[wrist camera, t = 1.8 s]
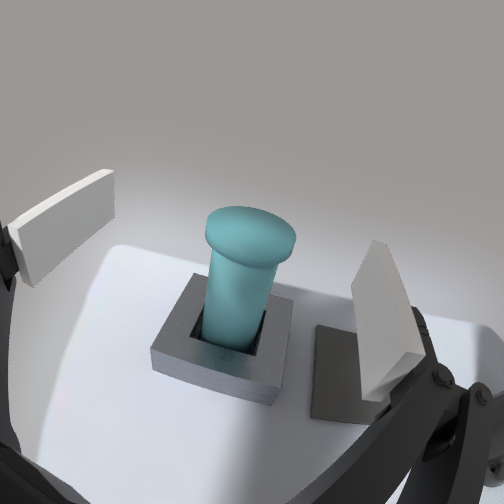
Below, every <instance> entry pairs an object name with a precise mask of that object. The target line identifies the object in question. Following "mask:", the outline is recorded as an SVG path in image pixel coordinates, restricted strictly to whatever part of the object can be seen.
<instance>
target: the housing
mask: <svg viewBox="0 0 504 504" xmlns="http://www.w3.org/2000/svg"><path fill="white" fill-rule="evenodd" d="M207 283H208V277H206V276H203V275H199V274H196V273H194V274H193V276H192V277H191V279H190V281H189V282H188V284H187V286H186V287H185V289H184V291H183V292H182V294H181V296H180V297H179V299H178V301H177V302H176V304H175V306H174V308H173V309H172V311H171V313H170V314H169V316H168V318H167V320H166V321H165V323H164V325H163V327H162V328H161V330H160V332H159V334H158V335H157V337H156V339H155V341H154V342H153V344H152V346H151V348H150V351H151V360H152V368H153V370H155V371H158V372H160V373H163V374H166V375H168V376H171V377H174V378H177V379H179V380H182V381H185V382H188V383H191V384H194V385H197V386H200V387H203V388H206V389H210V390H213V391H216V392H220V393H223V394H227V395H230V396H234V397H237V398H241V399H245V400H249V401H253V402H257V403H261V404H265V405H270V406H271V404H272V402H273V401H274V399H275V397H276V396H277V394H278V392H279V390H280V389H281V384H282V378H283V371H284V365H285V358H286V351H287V344H288V336H289V329H290V321H291V313H292V305H293V301H292V300H288V299H284V298H280V297H277V296H273V295H269V296H268V299H267V302H266V305H265V308H264V311H263V314H262V317H261V320H260V324H259V327H258V330H257V332H259V335H258V339H257V343H256V348H255V352H254V356H251V355H248V354H244V353H241V352H237V351H234V350H230V349H227V348H223V347H220V346H217V345H213V344H210V343H207V342H204V341H201V340H197V339H196V338H197V336H198V334H199V332H200V329H201V327H202V322H203V314H204V306H205V298H206V291H207Z"/></svg>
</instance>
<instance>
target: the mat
mask: <svg viewBox="0 0 504 504" xmlns="http://www.w3.org/2000/svg"><path fill="white" fill-rule="evenodd" d="M389 403H391V401H390V393H389V394H388V395H387V396H386V397H385V398H384V399H383V400H382V401H381V402H375V401H367V400H362V389H361V373H360V360H359V348H358V338H357V334H356V333H352V332H347V331H343V330H338V329H334V328H330V327H326V326H322V325H317V326H316V341H315V361H314V378H313V392H312V405H311V416H310V417H311V418H317V419H324V420H331V421H338V422H346V423H356V424H366V425H371V424H372V423H373V421H374V420H375V419H376V418H375V416H376V415H377V414H378V413H379V412H380V411H382V410H383V409H384V408H385V407H386V406H387V405H388V404H389Z"/></svg>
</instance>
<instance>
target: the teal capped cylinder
mask: <svg viewBox="0 0 504 504" xmlns="http://www.w3.org/2000/svg"><path fill="white" fill-rule="evenodd" d="M205 237H206V240H207V243H208V244H209V245H210V247H211V248H212V254H211V262H210V268H209V276H208V283H207V291H206V298H205V306H204V314H203V322H202V331H201V341H204V342H207V343H210V344H213V345H217V346H220V347H223V348H227V349H230V350H234V351H237V352H241V353H244V354H248V355H249V354H250V351H251V348H252V345H253V342H254V339H255V336H256V333H257V330H258V327H259V324H260V320H261V317H262V314H263V311H264V308H265V305H266V302H267V299H268V296H269V293H270V289H271V286H272V283H273V280H274V277H275V273H276V270H277V267H278V264H279V263H281V262H283V261H285V260H287V259H288V258H289V257H290V255H291V254H292V251H293V248H294V244H295V241H296V234H295V231H294V230H293V228H292V227H291V226H290V225H289V224H288V223H287V222H286V221H284V220H283V219H281V218H280V217H278V216H276V215H274V214H271V213H269V212H266V211H264V210H260V209H256V208H251V207H242V206H231V207H224V208H220V209H217V210H215V211H213V212H212V213H211V214H210V215H209V216H208V218H207V223H206V230H205Z"/></svg>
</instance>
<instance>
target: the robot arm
mask: <svg viewBox="0 0 504 504" xmlns="http://www.w3.org/2000/svg"><path fill="white" fill-rule="evenodd" d="M113 218H115V217H114V171H113V170H108V169H102V170H100V171H98V172H96V173H94V174H92V175H90V176H88V177H86V178H84V179H82V180H80V181H78V182H76V183H75V184H73V185H71V186H69V187H67V188H65V189H64V190H62V191H60V192H58V193H57V194H55V195H53V196H51V197H50V198H48V199H46V200H45V201H43V202H41V203H40V204H38V205H36V206H35V207H33V208H32V209H30V210H28V211H27V212H25V213H24V214H22V215H21V216H19V217H18V218H16V219H15V220H13V221H12V222H10V223H9V224H8V225H7V226H6V227H5V228H3V229H2V226H1V222H0V504H90V503H89V502H88V501H87V500H86V499H84V498H83V497H82V496H81V495H80V494H79V493H78V492H77V491H76V490H74V489H73V488H72V487H71V486H70V485H68V484H66V483H65V482H63V481H62V480H60V479H59V478H57V477H56V476H54V475H53V474H51V473H50V472H48V471H47V470H45V469H44V468H42V467H40V466H39V465H37V464H35V463H34V462H32V461H30V460H29V459H27V458H26V457H24V456H23V455H22V454H21V448H20V444H19V441H18V438H17V436H16V434H15V432H14V430H13V428H12V426H11V422H10V415H9V400H8V350H9V335H10V324H11V315H12V307H13V300H14V293H15V287H16V277H15V274H16V273H17V272H18V271H20V274H21V278H22V281H23V282H24V283H26V284H27V285H29V286H31V287H32V288H34V287H35V286H36V285H37V284H38V283H39V282H40V281H41V280H42V279H43V278H44V277H45V276H46V275H47V274H48V273H49V272H51V271H52V270H53V269H54V268H55V267H56V266H57V265H58V264H59V263H61V262H62V261H63V260H64V259H65V258H66V257H67V256H69V255H70V254H71V253H72V252H73V251H74V250H75V249H77V247H79V246H80V245H81V244H83V243H84V242H85V241H86V240H87V239H89V238H90V237H91V236H92V235H93V234H94V233H96V232H97V231H98V230H99V229H101V228H102V227H103V226H105V225H106V224H107V223H108V222H110V221H111V220H112V219H113ZM351 289H352V296H353V304H354V312H355V320H356V329H357V338H358V348H359V360H360V373H361V389H362V400H367V401H375V402H381V401H382V400H383V399H384V398H385V397H386V396H387V395H388V394H389V393H390V401H391V403H389V404H388V405H387V406H386V407H385V408H384V409H383V410H382V411H380V412H379V413H378V414H377V415H376V416H375V418H376V419H375V420H374V421H373V423H372V424H371V425H370V426H369V427H368V428H367V429H366V431H365V432H364V433H363V434H362V435H361V436H360V437H359V438H358V439H357V440H356V441H355V442H354V443H353V445H352V446H351V447H350V448H349V449H348V450H347V451H346V452H345V453H344V454H343V455H342V456H341V457H340V458H339V459H338V460H337V461H336V462H334V463H333V464H332V465H331V466H330V467H329V468H328V469H327V470H326V471H325V472H324V473H323V474H322V475H320V476H319V477H318V478H317V479H316V480H315V481H314V482H312V483H311V484H310V485H309V486H308V487H306V488H305V489H304V490H303V491H302V492H300V493H299V494H298V495H297V496H295V497H294V498H293V499H292V500H290V501H289V502H288V503H286V504H385V503H386V502H387V500H388V499H389V498H390V497H391V495H392V494H393V493H394V491H395V490H396V489H397V487H398V486H399V485H400V483H401V482H402V481H403V479H404V478H405V476H406V475H407V473H408V472H409V471H410V469H411V471H410V473H409V476H408V478H407V481H406V483H405V486H404V488H403V490H402V492H401V495H400V497H399V499H398V501H397V503H396V504H479V501H480V497H481V493H482V489H483V485H484V486H487V487H498V486H500V485H502V484H504V391H502V392H500V393H498V394H496V395H493V396H492V394H491V391H490V390H489V388H488V387H486V386H485V385H484V384H482V383H480V382H476V383H474V384H473V385H472V386H471V387H470V388H469V389H468V390H467V389H465V388H462V387H460V386H458V385H456V384H455V380H454V377H453V375H452V373H451V371H450V370H449V369H448V368H447V367H446V366H444V365H443V364H441V363H438V361H437V357H436V354H435V351H434V347H433V344H432V341H431V338H430V337H429V332H428V329H426V328H427V326H426V323H425V320H424V317H423V316H422V314H421V313H420V312H419V310H418V309H417V308H416V307H413V306H411V305H410V303H409V300H408V297H407V294H406V291H405V289H404V286H403V283H402V280H401V278H400V275H399V273H398V270H397V268H396V265H395V263H394V260H393V258H392V255H391V253H390V250H389V248H388V246H387V244H384V243H381V242H378V241H375V240H373V241H372V243H371V245H370V247H369V250H368V252H367V254H366V256H365V258H364V260H363V262H362V264H361V266H360V269H359V270H358V273H357V275H356V277H355V279H354V281H353V283H352V285H351ZM454 438H455V439H454Z"/></svg>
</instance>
